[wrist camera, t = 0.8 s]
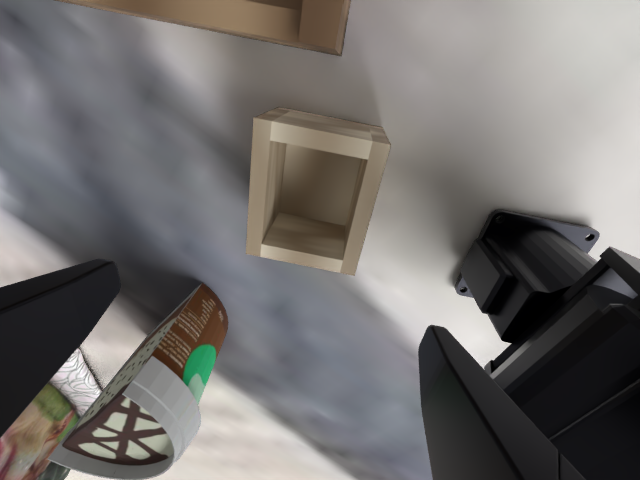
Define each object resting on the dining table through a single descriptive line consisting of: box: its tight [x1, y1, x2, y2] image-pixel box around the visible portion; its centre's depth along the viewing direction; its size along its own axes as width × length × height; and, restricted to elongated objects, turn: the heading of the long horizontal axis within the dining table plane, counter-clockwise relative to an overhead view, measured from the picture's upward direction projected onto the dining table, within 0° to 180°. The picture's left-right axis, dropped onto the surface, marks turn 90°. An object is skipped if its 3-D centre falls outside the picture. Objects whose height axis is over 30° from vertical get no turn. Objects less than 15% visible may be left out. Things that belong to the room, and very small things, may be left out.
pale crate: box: [246, 107, 391, 276], centre depth 17 cm, size 6×7×5 cm
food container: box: [48, 282, 228, 480], centre depth 22 cm, size 12×6×10 cm, turn 135°
